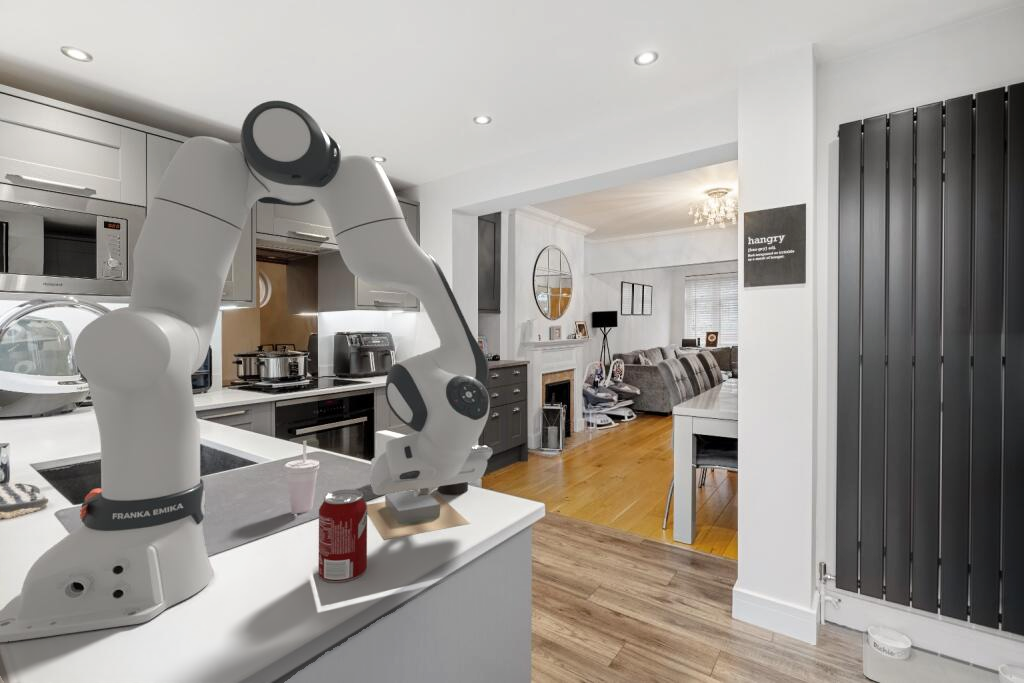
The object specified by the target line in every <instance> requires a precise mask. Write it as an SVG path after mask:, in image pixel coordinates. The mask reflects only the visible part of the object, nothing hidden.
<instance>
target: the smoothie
mask: <svg viewBox="0 0 1024 683" xmlns="http://www.w3.org/2000/svg"><path fill="white" fill-rule="evenodd" d="M302 445H303V446H302V447H303V448H302V456H303V457H302V459H297V460H292V461H289V462H287V463H285V464H284V472H285V473H286V479H287V488H288V495H289V502H290V511H291V514H292V513H293V514H302V513H303V514H304V513H307V512H309V511H312V510H313V507H314V506H313V505H314V500H315V499H314V498H315V492H316V484H317V477H318V476H317V475H318V469H320V461H319V460H316V459H310V458H308V459H307V440H303V441H302Z"/></svg>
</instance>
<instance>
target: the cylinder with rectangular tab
mask: <svg viewBox="0 0 1024 683" xmlns="http://www.w3.org/2000/svg"><path fill="white" fill-rule="evenodd" d="M406 435H407V434H403V433H399V432H395V431H390V430H385V429H384V430H379V431H375V438H374V439H375V440H374V441H375V447H374V451H375V452H374V456H375V457H373V458H372V459H371V460H370V473H371V472H372V469H373V467H374V465H375V463H376V461H377V459H378V458H379V457H380V456H381V455H382V454H383V453H385V452H386V443H387V442H388V441H389V440H392V439H396V438H399V437H403V436H406ZM370 487H372V486H371V485H370Z"/></svg>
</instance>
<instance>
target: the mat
mask: <svg viewBox="0 0 1024 683" xmlns="http://www.w3.org/2000/svg"><path fill="white" fill-rule="evenodd" d="M430 495H431V496H432V497H433V498H434V499H435V500H436V501H437V502H438V503H439V504H440V516H439V517H437V518H431V519H426V520H420V521H414V522H409V523H403V524H399V523H398V522H397V521H396V520H395V518H394V517H393V516H392V514H391V513H390V512H389V510H388V509H387V508H386V505H385V501H381V502H376V503H375V502H374V503H373V502H372V503H368V504H367V517H368V518H369V519H370V520H371V522H372V524H373V525H374V527H375V528H376V530H377V531H378V533H379V535H380V537H381V538H382V540H384V541H386V540H391V539H392V540H393V539H396V538H402V537H403V538H404V537H407V536H412V535H417V534H425V533H429V532H433V531H439V530H440V531H441V530H444V529H445V530H446V529H449V528H450V529H451V528H454V527H456V528H457V527H459V526H465V525H470V524H471V523H470V522H469V521H468V520H467V519H466V518H465V517H464V516H463V515H462V514H460V513H459V511H457V510H456V509H455V508H453V507H452V506H451V505H450V504H449V503H448V502H447V501H446V500H445V499H444V498H443V497H442V496H440V495H439V494H438V493H434V494H432V493H431V494H430Z"/></svg>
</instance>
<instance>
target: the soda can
mask: <svg viewBox="0 0 1024 683" xmlns="http://www.w3.org/2000/svg"><path fill="white" fill-rule="evenodd" d="M363 497H364V493H363V492H362V491H361V490H358V489H350V488H349V489H339V490H333V491H331V492H327V493H326V494H324V495H323V502H322V504H321V505H320V507H319V509H318V578H319V579H321V580H322V582H327V583H330V584H331V583H332V584H340V583H341V584H342V583H348V582H350V581H355V580H357V579H358V578H360V577H361V576H363V575H364V574H365V573H366V571H367V568H368V565H367V564H368V563H367V562H368V555H367V553H368V514H367V502H366V501H365V499H364V498H363Z"/></svg>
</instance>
